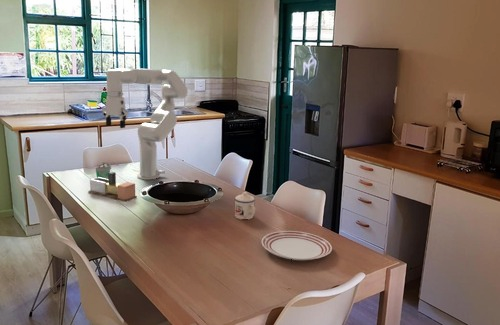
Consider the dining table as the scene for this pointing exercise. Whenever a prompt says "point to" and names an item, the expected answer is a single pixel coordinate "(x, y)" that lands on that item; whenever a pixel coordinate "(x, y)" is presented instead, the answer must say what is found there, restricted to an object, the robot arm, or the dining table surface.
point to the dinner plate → (296, 245)
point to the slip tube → (112, 183)
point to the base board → (112, 196)
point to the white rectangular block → (98, 185)
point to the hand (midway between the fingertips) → (115, 126)
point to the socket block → (126, 190)
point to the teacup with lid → (244, 206)
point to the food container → (103, 170)
